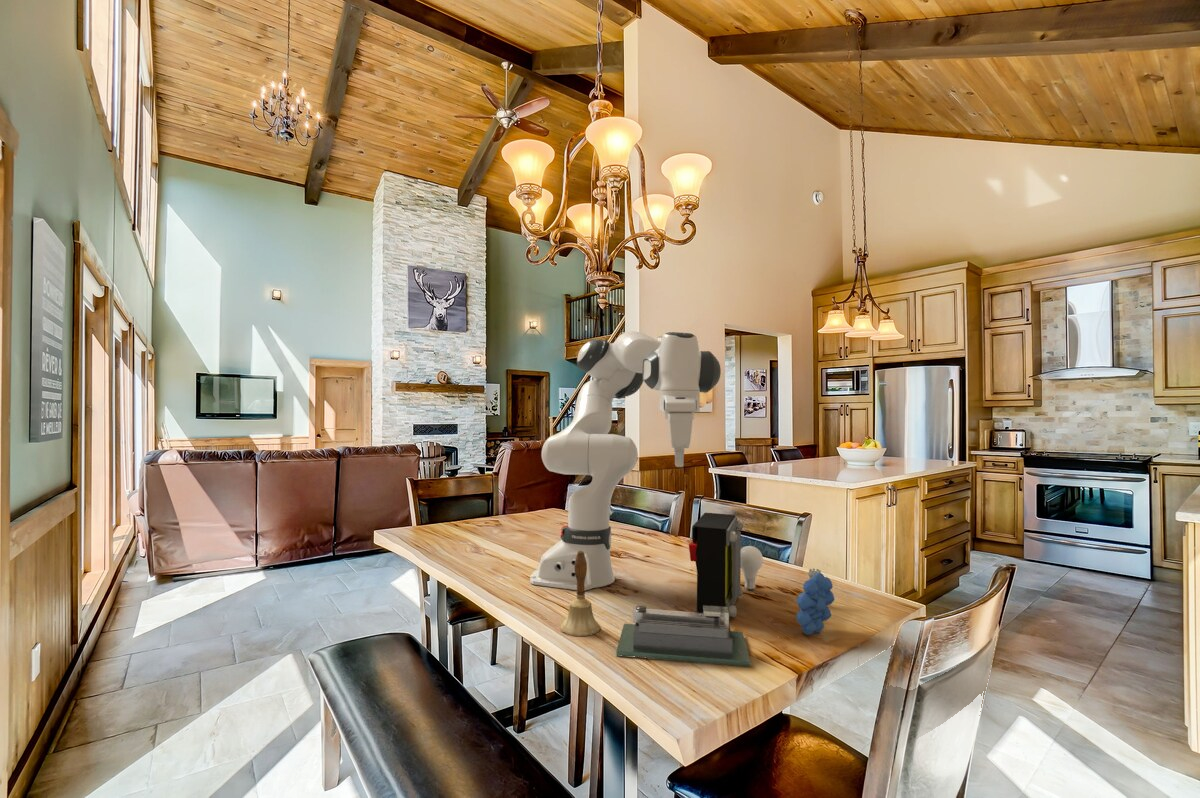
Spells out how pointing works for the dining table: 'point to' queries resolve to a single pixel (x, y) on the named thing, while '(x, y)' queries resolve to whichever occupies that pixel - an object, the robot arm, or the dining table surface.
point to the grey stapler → (686, 640)
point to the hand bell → (580, 605)
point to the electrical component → (717, 560)
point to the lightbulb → (750, 565)
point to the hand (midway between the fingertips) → (679, 466)
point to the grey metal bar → (670, 616)
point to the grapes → (815, 603)
